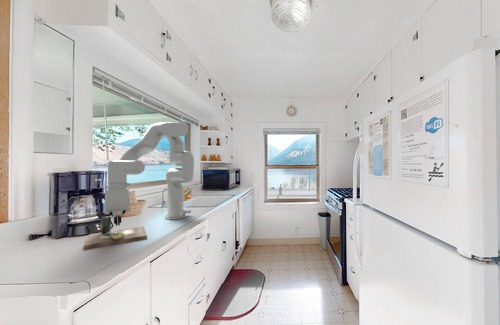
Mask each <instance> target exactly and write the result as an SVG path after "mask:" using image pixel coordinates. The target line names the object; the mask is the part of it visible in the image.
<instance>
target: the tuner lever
mask: <svg viewBox="0 0 500 325" xmlns="http://www.w3.org/2000/svg"><path fill="white" fill-rule="evenodd" d="M111 220H112V217H111V215H110V216H102V217H101V221H100V222H101V223H100V228H101V229H100V233H106V234H108V235H111V236H112V240H119V239H122V238H124V233H114V232H111V231H112V230H111V229H112V228H111V225H112V224H111V222H112V221H111Z"/></svg>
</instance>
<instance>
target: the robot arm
mask: <svg viewBox="0 0 500 325" xmlns="http://www.w3.org/2000/svg"><path fill="white" fill-rule="evenodd" d="M187 133H188V126H187V124H186V123H184V122H183V121H178V122H177V121H175V122H173V121H172V122H170V121H168V122H167V121H164V122H157V123H153V124H151V125H150V126H149V127H148V128H147V130H146V132H144V135H142V137H141V139H140V140H139V141H138V142H136V143H135V144H134V145H133V146H131V147H130V148H129V149H128V150H127V151H126V152H124V153H123V155H122V156H121V157H120V158H119V160H116V159H115V160H109V161H108V163H107V189H106V190H105V194H104V207H103V208H104V210H103V214H104V215H110V217H111V216H112V217H113V224H114V225H115V226H116V227H117V226H120V224H121V223H122V217H123V216H124V214H125V213H128V212H130V211H131V198H130V197H131V196H130V189H129V188H128V187H131V182H128V181H127V180H128V179H127V178H128V175H130V176H138V175H141V174H142V173H143V172H144V171H145V168H146V166H145V164H144V162H143V161H141V160H139V159H140V158H142V157H144V156H146V155H149V154H151V153H153V151H155V149H156V148H157V146H158V144H160V141H161V140H162V139H165V138H166V139H167V140H168V142H169V159H168V160H169V163H170V165H172V166H173V167H172V168H169V169H168V170H167V171H166V175H165V178H166V184H167V214H166V215H164V219H166V220H181V219H184V218H186V217H187V215H186V214H191V213H192V210H191V209H184V186H183V184H190V183H191V182H192V181H193V178H194V171H195V165H194V164H195V157H194V154H193V153H192V152H191V151H190V150H185V149H184V148H185V146H184V140H183V139H182V137H184V136H186V134H187ZM175 166H176V167H175ZM116 211H118V212H119V213H118V215H117V212H116Z"/></svg>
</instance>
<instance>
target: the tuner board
mask: <svg viewBox="0 0 500 325" xmlns="http://www.w3.org/2000/svg"><path fill="white" fill-rule="evenodd" d="M111 232H114V233H124V238H122V239H119V240H112V236H111V235H108V234H106V233H101V232H97V233H89V234H88V235H87V239H86V241H85V243H84V246H83V250H90V249H94V248H101V247H107V246H113V245H117V244H124V243H130V242H135V241H141V240H146V239H148V235H147V232H146V229H145V227H144V226H139V227H138V226H137V227H132V228H131V227H130V228H123V229H117V230H111Z"/></svg>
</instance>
